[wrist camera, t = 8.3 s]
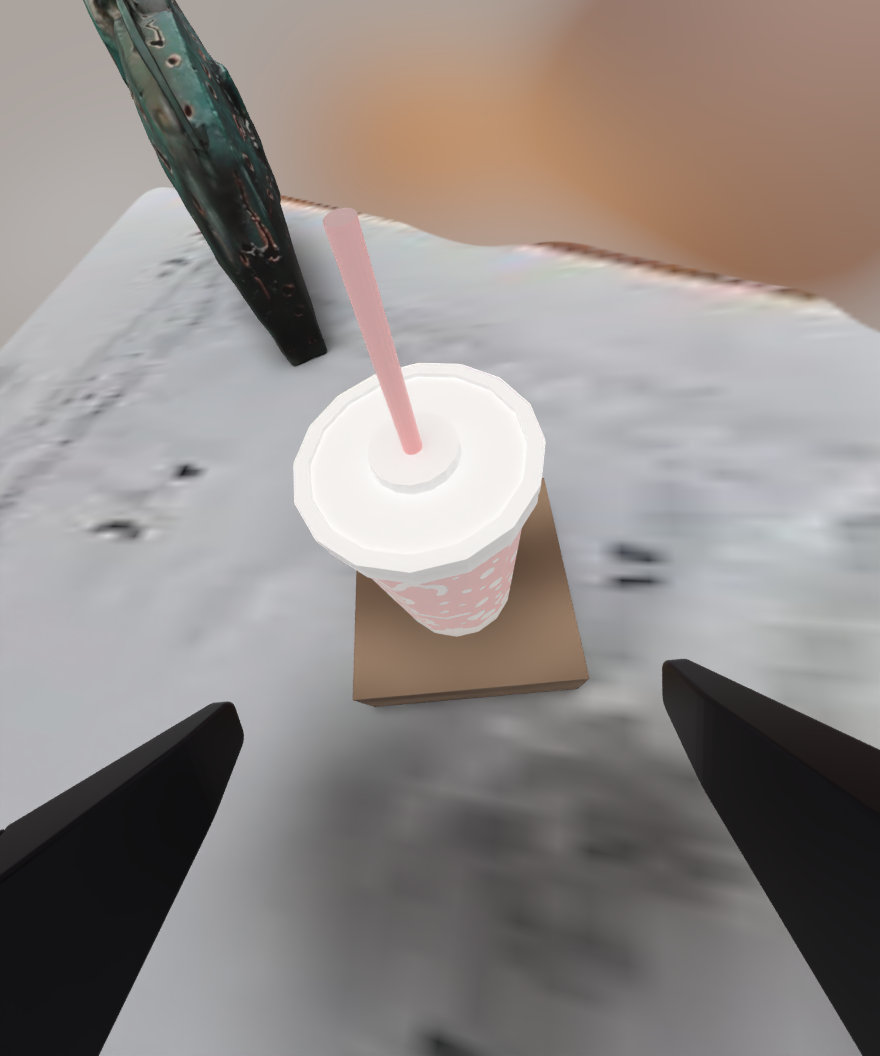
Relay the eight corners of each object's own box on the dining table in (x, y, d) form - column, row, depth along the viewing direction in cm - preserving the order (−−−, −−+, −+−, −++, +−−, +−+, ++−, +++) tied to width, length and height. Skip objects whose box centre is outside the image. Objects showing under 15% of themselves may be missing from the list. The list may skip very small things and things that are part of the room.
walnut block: (577, 688, 18) (589, 678, 15) (374, 706, 19) (352, 700, 16) (539, 509, 22) (543, 477, 20) (375, 531, 23) (358, 503, 20)
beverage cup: (358, 587, 18) (55, 264, 6) (454, 496, 20) (367, 89, 8) (457, 690, 16) (280, 493, 3) (559, 577, 17) (688, 158, 5)
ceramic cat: (227, 256, 40) (5, -134, 22) (290, 231, 40) (122, -170, 23) (275, 383, 30) (-49, -124, 13) (357, 348, 31) (155, -187, 13)
